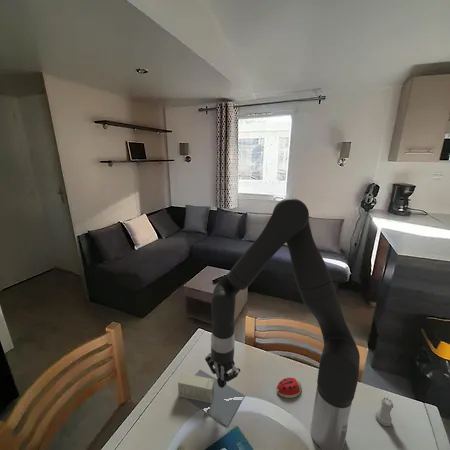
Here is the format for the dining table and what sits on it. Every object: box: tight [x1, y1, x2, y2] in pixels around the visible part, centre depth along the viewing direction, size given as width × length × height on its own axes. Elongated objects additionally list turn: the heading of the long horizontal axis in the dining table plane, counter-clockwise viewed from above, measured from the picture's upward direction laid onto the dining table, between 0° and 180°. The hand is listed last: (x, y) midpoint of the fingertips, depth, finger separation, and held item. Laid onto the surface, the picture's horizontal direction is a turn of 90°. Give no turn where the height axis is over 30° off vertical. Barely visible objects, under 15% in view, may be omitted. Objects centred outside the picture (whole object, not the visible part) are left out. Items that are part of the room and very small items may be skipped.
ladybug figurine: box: [276, 377, 303, 399], centre depth 86 cm, size 7×10×4 cm
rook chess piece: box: [375, 396, 394, 427], centre depth 75 cm, size 4×4×8 cm
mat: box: [183, 369, 246, 428], centre depth 83 cm, size 20×12×1 cm, turn 59°
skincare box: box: [177, 372, 214, 403], centre depth 82 cm, size 6×4×12 cm
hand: (221, 385), depth 79 cm, fingers closed
